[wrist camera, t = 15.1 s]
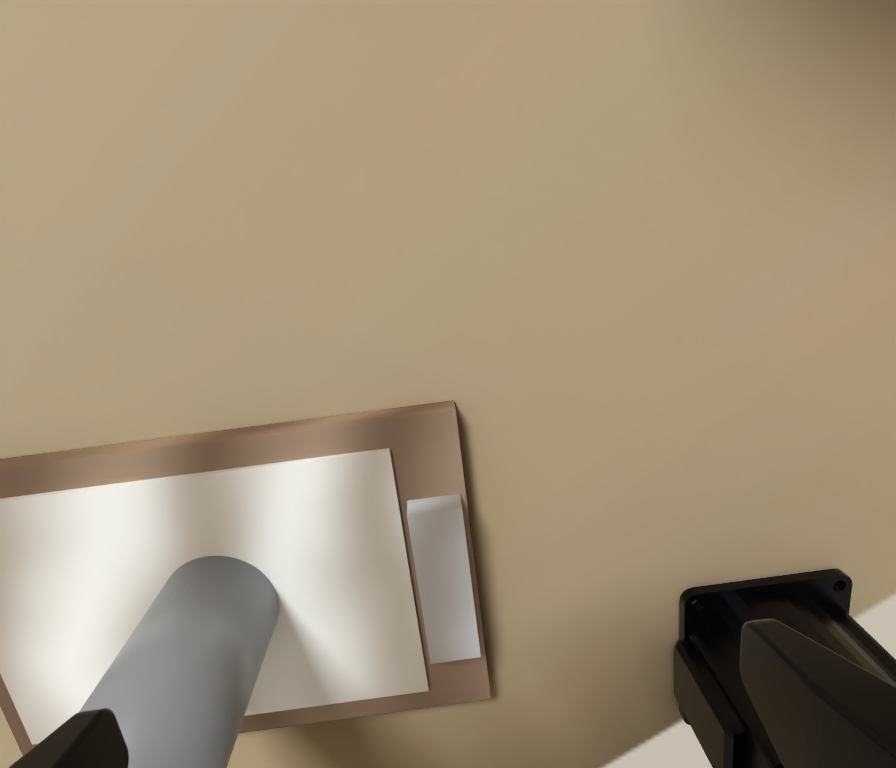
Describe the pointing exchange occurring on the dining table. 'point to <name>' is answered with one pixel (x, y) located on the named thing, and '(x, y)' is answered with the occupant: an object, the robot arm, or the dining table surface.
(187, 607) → the marker
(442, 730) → the dining table surface
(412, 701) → the clipboard
